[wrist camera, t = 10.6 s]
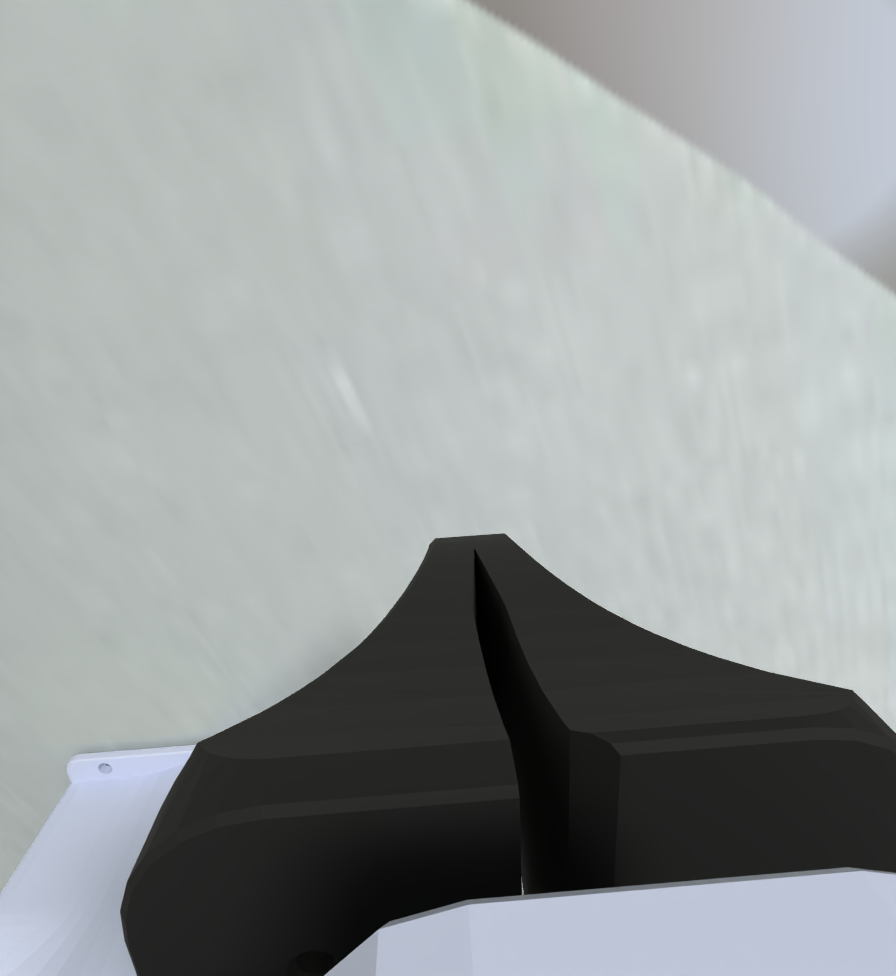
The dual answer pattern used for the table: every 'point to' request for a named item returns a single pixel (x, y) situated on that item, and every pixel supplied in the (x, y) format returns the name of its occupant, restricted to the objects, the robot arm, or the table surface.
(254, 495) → the table surface
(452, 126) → the table surface
